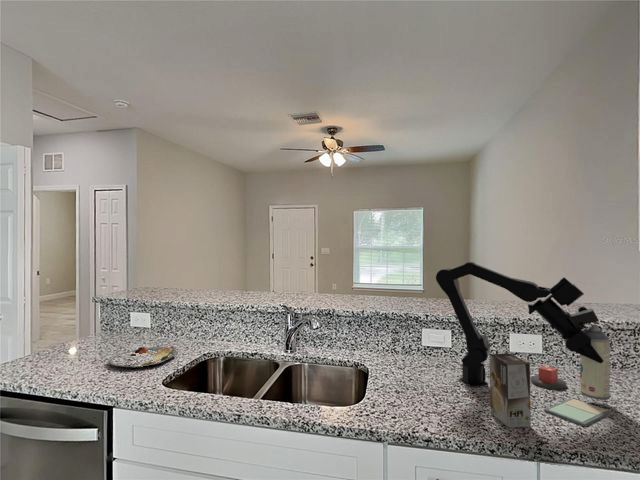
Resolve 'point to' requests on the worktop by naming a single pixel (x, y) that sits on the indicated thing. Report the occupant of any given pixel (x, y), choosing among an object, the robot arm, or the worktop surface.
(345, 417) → the worktop surface
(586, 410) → the game board
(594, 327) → the aerosol can
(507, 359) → the coffee box
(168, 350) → the food plate
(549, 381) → the red die on its tray
